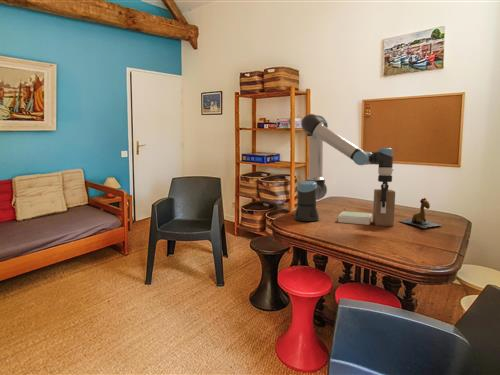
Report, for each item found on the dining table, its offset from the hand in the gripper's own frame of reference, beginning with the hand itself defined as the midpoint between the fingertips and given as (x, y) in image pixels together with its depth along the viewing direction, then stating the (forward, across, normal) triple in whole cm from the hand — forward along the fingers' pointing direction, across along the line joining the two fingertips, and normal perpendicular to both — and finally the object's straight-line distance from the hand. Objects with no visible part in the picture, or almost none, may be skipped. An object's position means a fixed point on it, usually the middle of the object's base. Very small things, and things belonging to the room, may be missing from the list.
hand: (383, 211), depth 198 cm
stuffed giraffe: (+8, +12, -19) cm, 24 cm away
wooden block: (+8, 0, 0) cm, 8 cm away
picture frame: (+7, +3, +16) cm, 18 cm away
